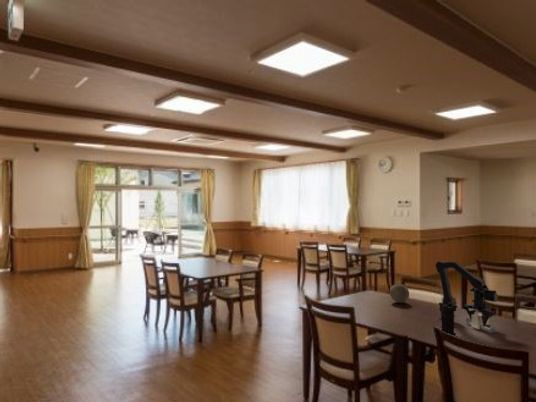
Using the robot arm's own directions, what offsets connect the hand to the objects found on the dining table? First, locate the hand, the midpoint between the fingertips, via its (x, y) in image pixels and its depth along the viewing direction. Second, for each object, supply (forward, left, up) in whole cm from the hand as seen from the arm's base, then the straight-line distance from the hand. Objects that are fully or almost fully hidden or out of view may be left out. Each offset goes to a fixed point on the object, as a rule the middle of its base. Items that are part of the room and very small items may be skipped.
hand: (478, 323), depth 256 cm
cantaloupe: (-11, +67, -3) cm, 68 cm away
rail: (0, -1, -2) cm, 3 cm away
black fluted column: (-33, -11, -3) cm, 36 cm away
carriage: (0, 0, -2) cm, 2 cm away
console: (+9, +6, -2) cm, 11 cm away
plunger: (+9, +6, 0) cm, 11 cm away
